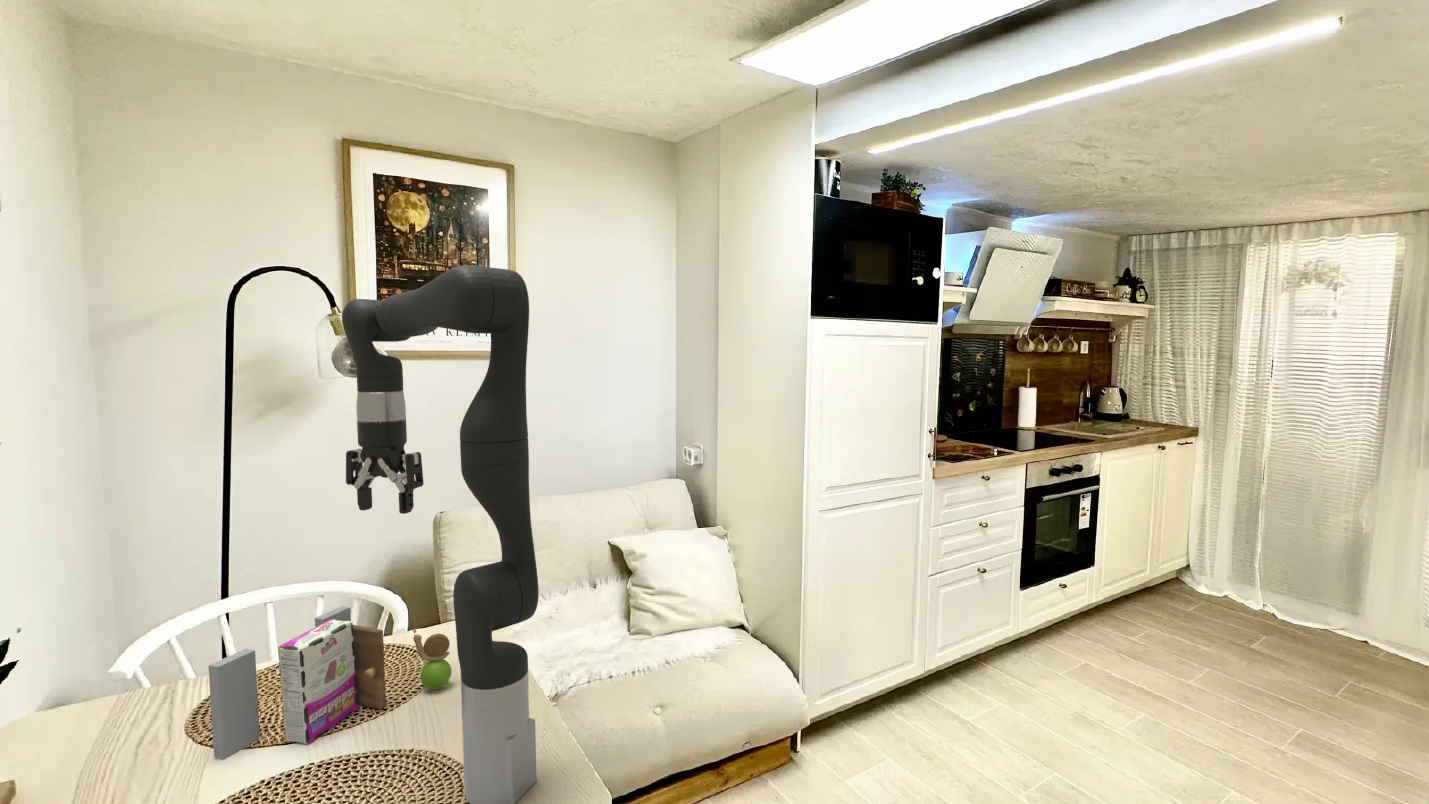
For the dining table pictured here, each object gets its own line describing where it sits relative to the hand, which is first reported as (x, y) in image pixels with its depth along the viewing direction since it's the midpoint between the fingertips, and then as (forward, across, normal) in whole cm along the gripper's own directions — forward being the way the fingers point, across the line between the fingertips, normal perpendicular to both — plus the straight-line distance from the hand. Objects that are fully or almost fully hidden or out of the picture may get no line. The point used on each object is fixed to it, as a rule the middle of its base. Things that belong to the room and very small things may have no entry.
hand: (385, 511), depth 114 cm
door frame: (+36, +16, +6) cm, 40 cm away
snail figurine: (+36, -1, -9) cm, 37 cm away
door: (+36, +9, 0) cm, 37 cm away
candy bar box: (+36, +8, +7) cm, 38 cm away
